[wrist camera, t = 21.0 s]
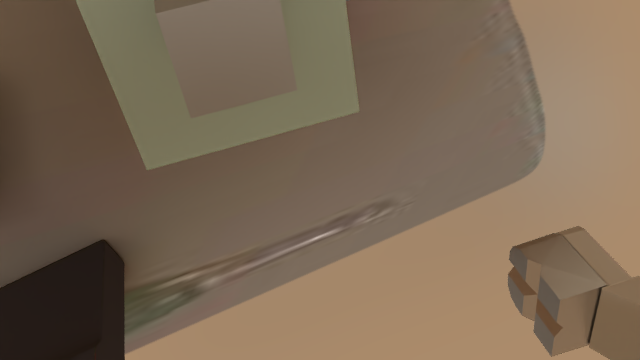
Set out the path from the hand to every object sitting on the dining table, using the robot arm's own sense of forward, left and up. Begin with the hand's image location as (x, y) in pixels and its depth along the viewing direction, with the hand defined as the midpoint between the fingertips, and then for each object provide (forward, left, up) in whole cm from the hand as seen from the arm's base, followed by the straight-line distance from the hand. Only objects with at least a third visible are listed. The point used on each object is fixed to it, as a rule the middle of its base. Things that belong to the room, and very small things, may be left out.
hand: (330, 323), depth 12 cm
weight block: (0, 0, -21) cm, 21 cm away
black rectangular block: (-18, -23, -31) cm, 43 cm away
